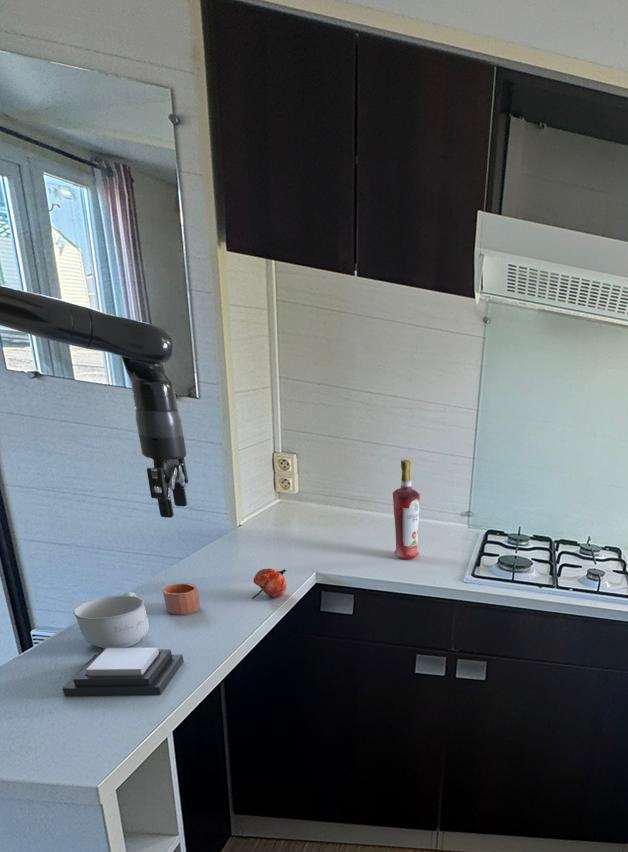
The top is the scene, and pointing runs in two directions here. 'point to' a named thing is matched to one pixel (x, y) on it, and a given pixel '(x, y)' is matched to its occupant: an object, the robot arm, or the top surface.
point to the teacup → (113, 620)
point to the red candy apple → (271, 582)
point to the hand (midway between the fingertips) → (174, 511)
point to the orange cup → (181, 598)
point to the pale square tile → (123, 662)
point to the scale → (126, 679)
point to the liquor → (406, 515)
